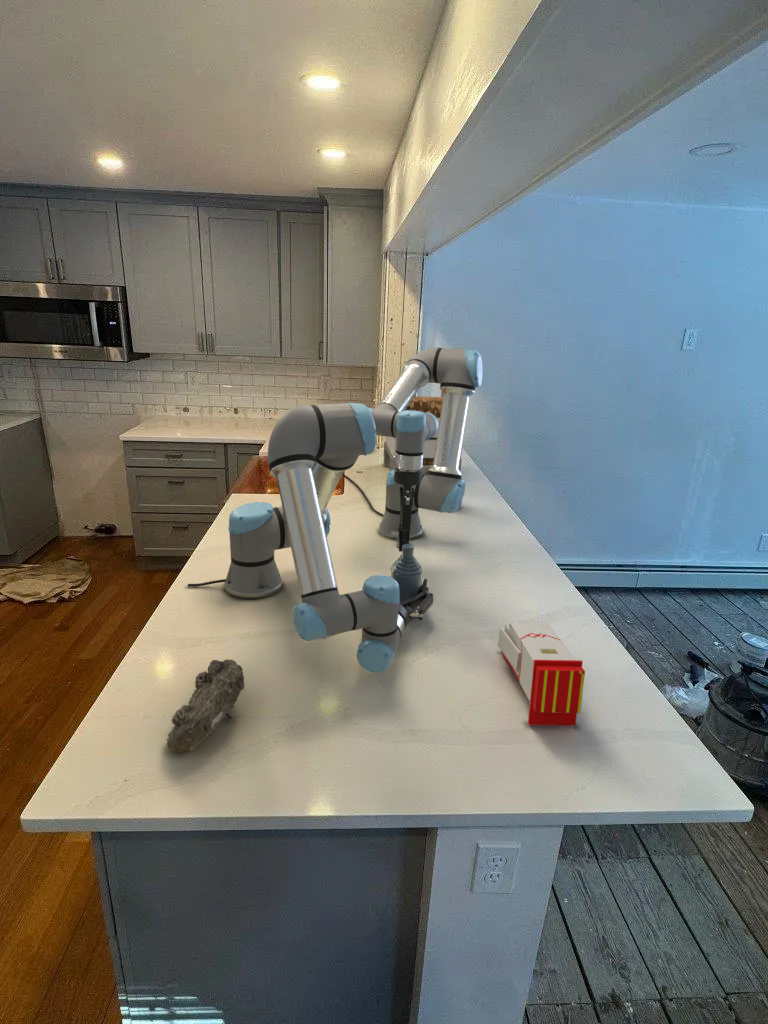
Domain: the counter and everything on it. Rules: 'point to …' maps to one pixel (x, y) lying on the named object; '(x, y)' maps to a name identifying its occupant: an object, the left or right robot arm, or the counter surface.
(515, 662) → the toy
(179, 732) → the fossil
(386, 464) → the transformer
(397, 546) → the cap
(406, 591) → the bottle
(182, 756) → the counter surface
